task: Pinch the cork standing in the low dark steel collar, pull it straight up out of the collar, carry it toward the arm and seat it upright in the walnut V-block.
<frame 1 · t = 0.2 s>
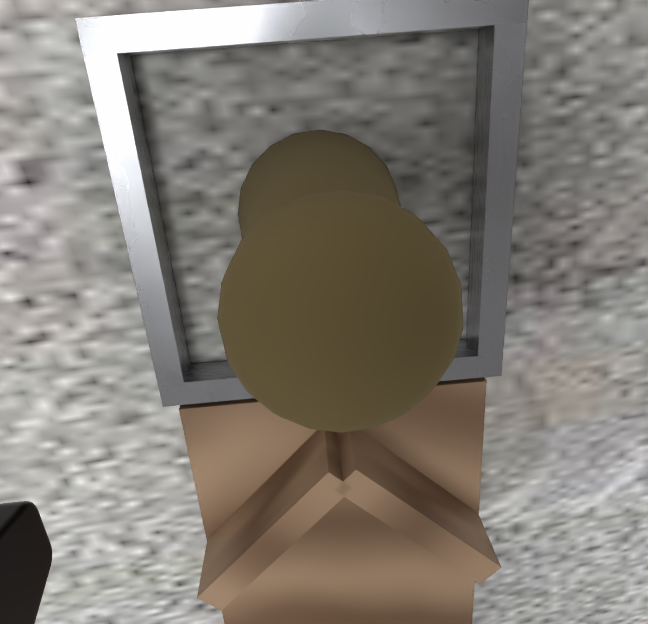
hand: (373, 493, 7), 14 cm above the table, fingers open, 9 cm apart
walnut v-block: (342, 525, 26), on the table
steel collar: (319, 214, 20), on the table
cork: (318, 213, 20), resting in steel collar
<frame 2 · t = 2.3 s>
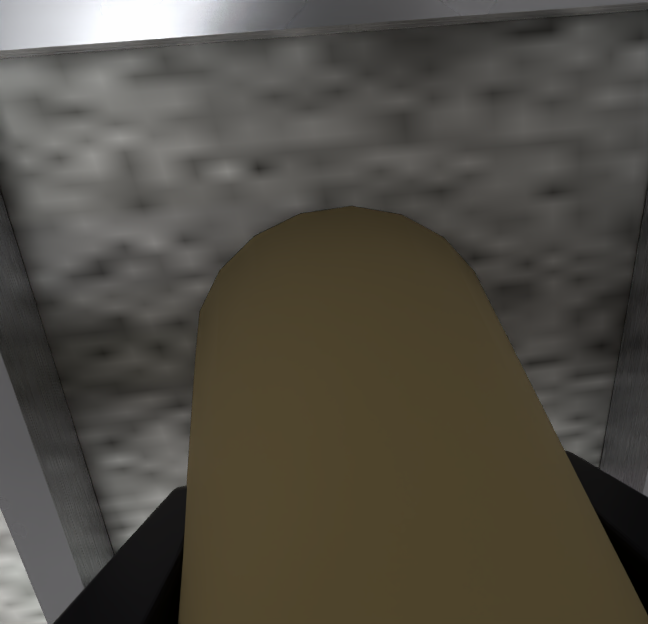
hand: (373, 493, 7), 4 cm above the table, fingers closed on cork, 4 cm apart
steel collar: (345, 352, 11), on the table
cork: (344, 348, 11), resting in steel collar, touching gripper
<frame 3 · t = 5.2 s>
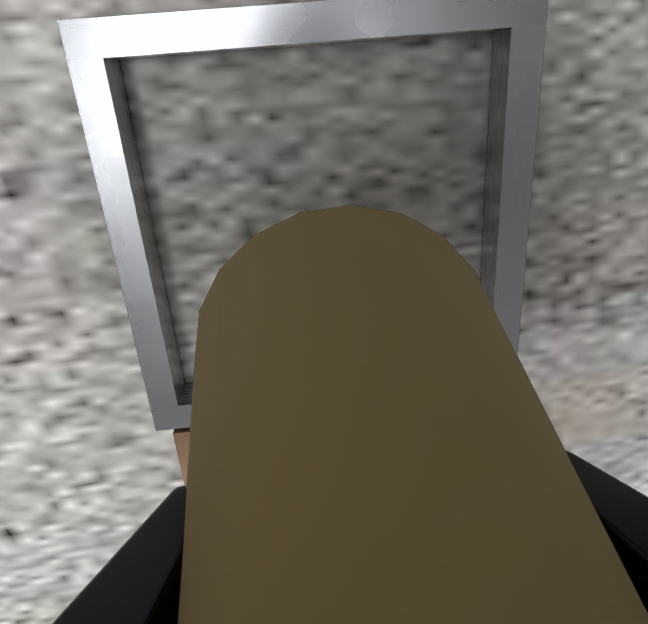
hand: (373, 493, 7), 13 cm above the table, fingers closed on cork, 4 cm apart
walnut v-block: (345, 549, 25), on the table
steel collar: (321, 228, 19), on the table
cork: (344, 348, 11), point 9 cm above the table, touching gripper
when the fingers open (6 cm above the table, at t = 8.4 s): cork stays where it is, resting on walnut v-block.
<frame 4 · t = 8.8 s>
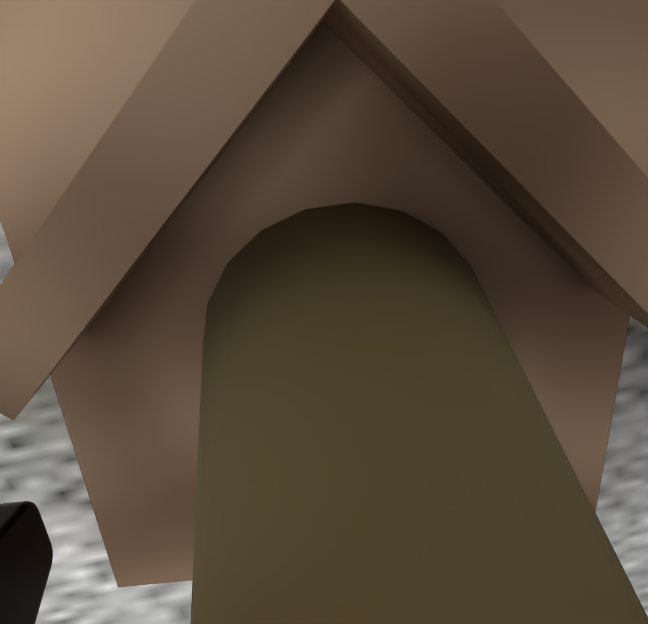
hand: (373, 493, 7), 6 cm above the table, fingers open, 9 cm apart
walnut v-block: (337, 313, 13), on the table
cork: (345, 340, 12), point 1 cm above the table, touching walnut v-block
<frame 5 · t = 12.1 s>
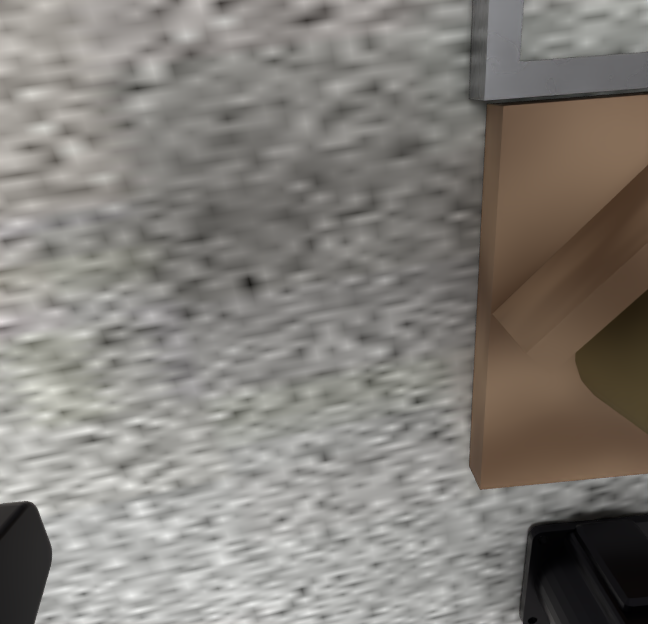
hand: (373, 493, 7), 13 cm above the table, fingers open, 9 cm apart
walnut v-block: (629, 320, 21), on the table
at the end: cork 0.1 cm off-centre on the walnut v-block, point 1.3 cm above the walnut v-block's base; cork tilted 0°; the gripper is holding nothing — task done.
